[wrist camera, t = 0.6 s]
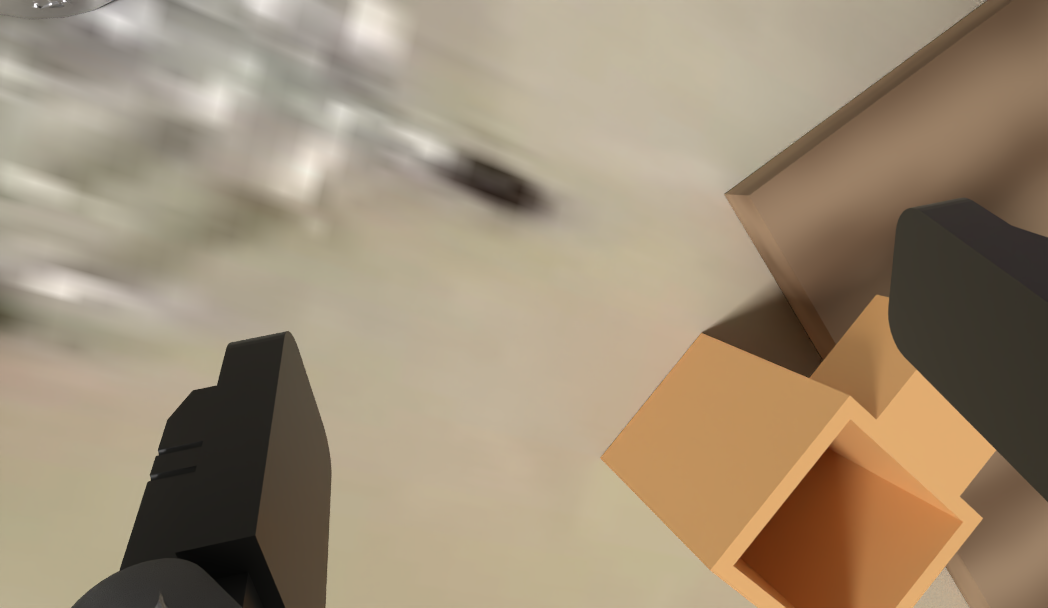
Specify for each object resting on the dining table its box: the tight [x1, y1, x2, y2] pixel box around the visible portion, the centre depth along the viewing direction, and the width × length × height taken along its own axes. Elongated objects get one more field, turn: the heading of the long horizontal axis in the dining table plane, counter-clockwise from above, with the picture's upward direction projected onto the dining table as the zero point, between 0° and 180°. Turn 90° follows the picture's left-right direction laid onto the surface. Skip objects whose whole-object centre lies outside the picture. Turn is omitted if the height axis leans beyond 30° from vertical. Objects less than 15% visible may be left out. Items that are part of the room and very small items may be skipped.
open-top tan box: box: [601, 295, 996, 608], centre depth 30 cm, size 10×6×10 cm, turn 139°
